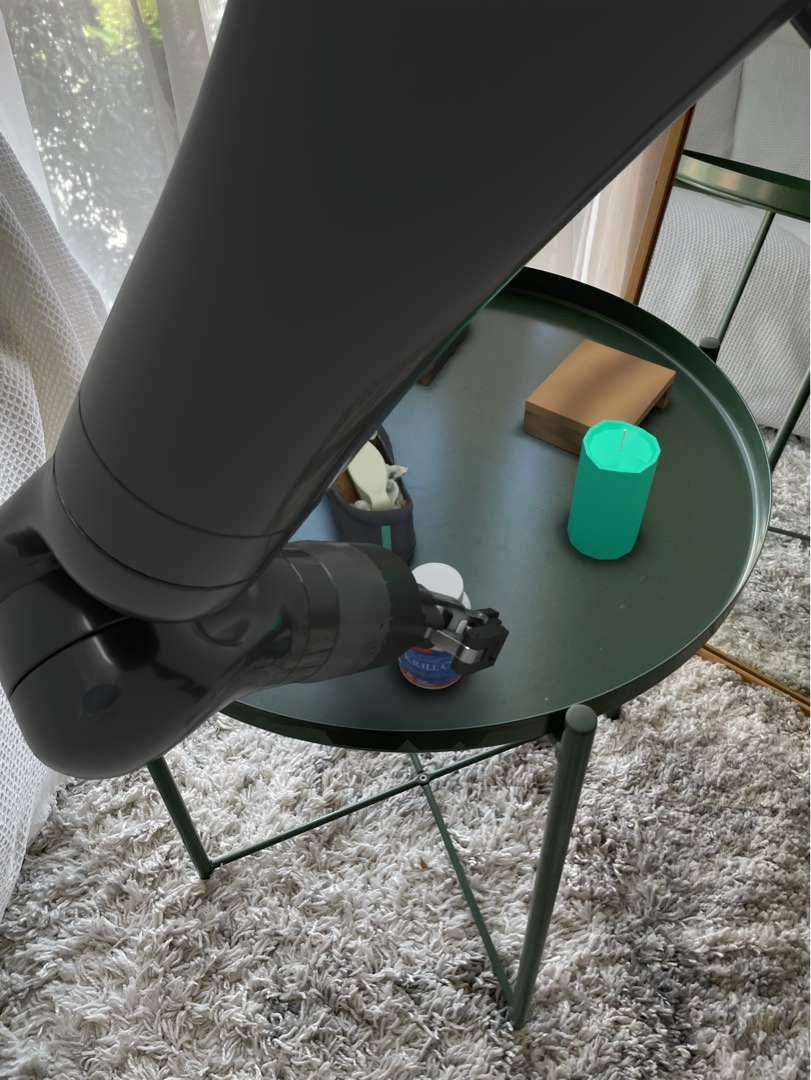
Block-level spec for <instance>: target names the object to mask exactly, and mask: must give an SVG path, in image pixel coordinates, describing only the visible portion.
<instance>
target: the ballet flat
mask: <svg viewBox="0 0 811 1080" xmlns="http://www.w3.org/2000/svg"><path fill="white" fill-rule="evenodd" d="M408 469H409V468H408V466H406V467H405V466H401V465H397V464H395V456H394V452H393V446H392V442H391V439H390V437H389V434H388V433H387V431H386V429H385V427H384V426H383V423H382V424H381V426H380V427H379V428H378V429H377V430H376V432H375V433H374V434H373V435H372V437H371V438H370V439H369V440H368V442H367V443H366V444H365V445H364V447H363V448H362V449H361V451H360V452H359V453H358V454H357V456H356V457H355V458H354V459H353V461H352V462H351V463H350V465H349V466H348V467H347V468H346V470H345V471H344V472H343V473H342V475H341V476H340V477H339V479H338V480H337V481H336V482H335V484H334V485H333V486H332V488H331V489H330V490H329V491H328V493H327V494H326V495H325V497H326V498H327V501H328V503H329V506H330V511H331V514H332V519H333V524H334V526H335V530H336V533H337V537H338V541H339V542H356V543H371V544H376V545H380V546H382V547H385V548H387V549H389V550H391V551H392V552H394V553H395V554H396V555H398V556H399V557H400V558H401V559H402V560H403V561H405V562H408V561H409V560H410V558H411V557H412V556H413V553H414V551H415V549H416V546H417V539H416V532H415V528H414V527H415V526H414V517H413V516H414V515H413V511H414V503H413V500H412V497H411V496H410V493H409V491H408V489H407V486H406V485H405V483H404V480H403V478H402V477H403V476H405V475H406V474H407V472H408Z"/></svg>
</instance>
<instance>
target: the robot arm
mask: <svg viewBox="0 0 811 1080" xmlns="http://www.w3.org/2000/svg"><path fill="white" fill-rule="evenodd" d="M222 13H223V14H222V17H221V21H220V24H219V27H218V31H217V34H216V37H215V41H214V44H213V47H212V50H211V54H210V56H209V60H208V62H207V66H206V70H205V73H204V76H203V79H202V82H201V86H200V89H199V91H198V95H197V99H196V102H195V104H194V106H193V110H192V112H191V116H190V117H189V121H188V124H187V127H186V128H185V131H184V135H183V137H182V139H181V142H180V145H179V148H178V150H177V154H176V156H175V159H174V161H173V164H172V166H171V168H170V170H169V173H168V175H167V178H166V180H165V183H164V185H163V188H162V191H161V193H160V195H159V198H158V201H157V203H156V205H155V208H154V210H153V212H152V215H151V217H150V219H149V221H148V224H147V225H146V228H145V231H144V233H143V235H142V237H141V241H140V242H139V244H138V247H137V249H136V252H135V254H134V256H133V259H132V260H131V262H130V265H129V267H128V270H127V272H126V273H125V276H124V279H123V281H122V283H121V286H120V287H119V290H118V292H117V295H116V297H115V299H114V302H113V304H112V307H111V309H110V311H109V313H108V315H107V319H106V321H105V323H104V325H103V328H102V329H101V333H100V335H99V337H98V339H97V342H96V344H95V347H94V349H93V351H92V354H91V356H90V359H89V361H88V363H87V366H86V369H85V370H84V374H83V375H82V378H81V381H80V383H79V385H78V389H77V391H76V393H75V396H74V399H73V401H72V404H71V406H70V409H69V411H68V413H67V416H66V419H65V421H64V423H63V426H62V428H61V432H60V434H59V436H58V439H57V443H56V446H55V449H54V452H53V453H52V455H51V456H50V457H48V459H47V460H46V461H44V463H43V464H42V465H40V467H39V468H38V469H37V470H36V471H34V472H33V473H32V474H31V475H30V476H29V477H28V478H27V479H26V480H25V481H24V482H23V483H22V484H21V485H20V486H19V487H18V488H17V489H16V490H15V491H14V493H13V494H11V496H10V497H8V499H6V500H5V501H4V502H3V503H2V504H1V505H0V685H1V687H2V690H3V692H4V694H5V696H6V699H7V701H8V703H9V706H10V709H11V711H12V714H13V716H14V718H15V721H16V723H17V726H18V728H19V730H20V732H21V734H22V737H23V739H24V741H25V743H26V745H27V747H28V748H29V749H30V751H31V752H32V754H33V755H34V757H35V758H37V760H38V761H39V762H41V763H42V765H44V766H45V767H47V768H49V769H50V770H52V771H54V772H56V773H59V774H61V775H64V776H67V777H71V778H75V779H80V780H87V781H89V780H90V781H102V780H104V781H105V780H110V779H114V778H115V779H116V778H119V777H123V776H126V775H129V774H132V773H134V772H136V771H138V770H141V769H143V768H146V767H147V766H149V765H150V764H152V763H154V762H155V761H157V760H159V759H160V758H161V757H163V756H165V755H166V754H168V753H169V752H171V751H172V750H173V749H174V748H176V747H177V746H178V745H180V744H181V743H182V742H184V741H185V740H186V739H187V738H189V737H190V736H191V735H193V733H195V732H196V731H197V730H198V729H199V728H200V727H202V726H203V725H204V724H205V723H206V722H208V720H210V719H211V718H213V716H215V715H216V714H217V713H219V712H220V711H221V710H222V709H224V708H226V707H227V706H228V705H230V704H232V703H234V702H236V701H238V700H240V699H242V698H244V697H246V696H249V695H251V694H254V693H258V692H263V691H265V690H270V689H273V688H279V687H282V686H287V685H292V684H305V685H306V684H316V683H323V682H327V681H332V680H334V679H339V678H343V677H348V676H352V675H355V674H359V673H363V672H369V671H371V670H376V669H380V668H383V667H385V666H388V665H390V664H392V663H393V662H395V661H396V660H398V658H399V657H400V656H402V655H403V654H404V653H405V652H407V651H408V650H409V649H411V648H412V647H416V648H422V649H431V650H435V651H440V652H444V651H446V652H448V653H450V654H452V657H451V659H450V660H451V664H450V668H451V669H452V670H453V671H454V672H455V673H457V674H460V675H462V676H470V675H472V674H474V673H477V672H480V671H483V670H486V669H488V668H491V667H494V666H495V664H496V662H497V661H498V657H499V656H500V654H501V651H502V649H503V647H504V645H505V642H506V641H507V638H508V636H509V634H510V630H508V628H506V626H504V625H502V624H503V620H501V619H500V618H499V617H500V612H499V611H497V610H496V609H494V608H492V607H487V608H479V609H472V608H471V609H467V608H466V607H465V606H464V605H463V604H462V603H460V602H459V601H458V600H457V599H456V598H454V597H451V596H448V595H444V594H441V593H437V592H434V591H430V590H428V589H427V588H426V587H424V586H423V585H422V584H419V583H417V582H416V579H415V577H414V575H413V573H412V570H411V568H410V567H411V565H410V563H408V561H406V562H405V561H403V560H402V559H401V558H400V557H399V556H398V555H396V554H395V553H394V552H392V551H391V550H389V549H387V548H385V547H382V546H380V545H376V544H371V543H356V542H340V541H334V540H315V539H314V540H312V539H305V540H303V539H302V540H301V539H300V540H295V541H290V540H291V539H292V538H293V536H294V535H295V534H296V533H297V532H298V530H299V529H300V528H301V527H302V525H303V524H304V523H305V522H306V520H307V519H308V518H309V517H310V515H311V514H312V513H313V512H314V511H315V509H316V508H317V507H318V506H319V505H320V503H321V502H322V501H323V499H324V498H325V497H326V494H327V493H328V491H329V490H330V489H331V488H332V486H333V485H334V484H335V482H336V481H337V480H338V479H339V477H340V476H341V475H342V473H343V472H344V471H345V470H346V468H347V467H348V466H349V465H350V463H351V462H352V461H353V459H354V458H355V457H356V456H357V454H358V453H359V452H360V451H361V449H362V448H363V447H364V445H365V444H366V443H367V442H368V440H369V439H370V438H371V437H372V435H373V434H374V433H375V432H376V430H377V429H378V428H379V427H380V426H381V424H382V425H383V424H384V422H385V421H386V419H388V417H389V416H390V415H391V413H392V412H393V411H394V410H395V409H396V407H397V406H398V405H399V404H400V402H401V401H402V400H403V399H404V398H405V396H406V395H407V394H408V393H409V392H410V390H411V389H412V388H413V387H414V386H415V384H416V383H418V382H417V381H418V380H419V378H420V377H421V376H422V375H423V374H424V373H425V371H426V370H427V369H428V368H429V367H430V366H431V365H432V364H433V362H434V361H435V360H436V359H437V358H438V357H439V356H440V355H441V353H442V352H443V351H444V350H445V349H446V348H447V347H448V346H449V345H450V343H451V342H452V341H453V340H454V339H455V338H456V337H457V336H458V335H459V334H460V333H461V331H462V330H463V329H464V328H465V327H466V326H467V325H468V324H469V325H470V323H471V322H472V321H473V320H474V319H475V318H476V317H477V316H478V314H479V313H481V312H482V310H483V309H484V308H485V307H486V306H487V305H488V304H489V303H490V302H491V301H492V300H493V299H494V298H495V297H496V296H497V295H498V294H499V293H500V292H501V291H502V290H503V289H504V288H505V287H506V286H507V285H508V284H509V283H510V282H511V281H512V280H513V279H514V278H515V277H516V276H517V275H518V274H519V273H520V272H521V271H522V270H523V269H524V268H525V267H526V266H527V265H528V264H529V262H531V261H532V259H534V258H535V257H536V256H537V255H538V254H539V253H540V252H541V251H542V250H543V249H544V248H545V247H546V246H547V245H548V244H549V243H550V242H552V240H553V239H554V238H555V237H556V236H557V235H558V234H559V233H560V232H561V231H562V230H564V229H565V227H567V225H569V223H570V222H572V220H573V219H575V217H576V216H578V214H579V213H581V211H583V209H584V208H586V206H588V205H589V204H590V203H591V202H592V201H593V200H594V199H595V198H596V197H597V196H598V195H599V194H600V193H601V192H602V191H603V190H604V189H605V188H607V186H608V185H610V184H611V183H612V182H613V181H614V180H615V179H616V178H617V177H618V176H619V175H620V174H621V173H622V172H623V171H624V170H626V168H628V167H629V166H630V164H632V162H634V161H635V160H636V159H637V158H638V157H639V156H641V154H642V153H644V151H646V150H647V149H648V148H649V147H650V146H651V145H652V144H653V143H654V142H655V141H656V140H657V139H658V138H659V137H660V136H661V135H663V133H664V132H666V131H667V130H668V129H669V128H670V127H671V126H673V124H674V123H675V122H676V121H678V120H679V119H680V118H681V117H682V116H683V115H684V114H685V113H686V112H688V111H689V110H690V109H691V108H692V107H693V106H695V105H696V104H697V103H698V102H699V101H700V100H702V99H703V98H704V97H705V96H706V95H707V94H708V93H709V92H710V91H712V90H713V89H714V88H715V87H716V86H717V85H718V84H720V83H721V82H722V81H723V80H724V79H725V78H727V77H728V76H729V75H730V74H731V73H732V72H733V71H734V70H735V69H737V67H740V65H741V64H742V63H743V62H744V61H746V60H747V59H749V57H750V56H752V54H753V53H755V52H756V51H757V50H758V49H760V47H761V46H763V45H764V44H765V43H767V41H769V39H771V38H772V37H773V36H774V35H776V34H777V32H779V31H780V30H781V29H782V28H784V26H786V25H787V24H789V25H790V26H791V27H792V28H793V30H794V31H795V32H796V33H797V35H798V36H799V37H800V38H801V39H802V41H803V42H804V43H805V45H806V46H807V47H808V48H809V50H810V51H811V0H226V3H225V6H224V10H223V12H222ZM436 605H437V606H440V607H444V609H443V612H442V614H441V613H440V611H439V609H438V608H437V606H436ZM463 620H467V624H466V626H465V628H464V630H463V632H462V634H460V633H455V632H456V630H457V628H458V626H459V624H460V622H461V621H463Z"/></svg>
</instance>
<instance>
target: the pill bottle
mask: <svg viewBox="0 0 811 1080" xmlns="http://www.w3.org/2000/svg"><path fill="white" fill-rule="evenodd" d="M411 572H412V573H413V575H414V577H415V579H416V582H417V583H419V584H422V585H423V586H424V587H426V588H427V589H428V590H430V591H434V592H437V593H441V594H444V595H448V596H451V597H454V598H456V599H457V600H458V601H459V602H460V603H462V604H463V605H464V606H465V607H466V608H467V609H471V610H472V605H471V601H470V599H469V596H468V594H467V593H466V592H465V591H464V587H465V586H464V580H463V577H462V576H461V574H460V572H459V571H458V570H457V569H456V568H454V567H453V566H451V565H448V564H446V563H442V562H428V563H423V564H420V565H419V566H417V567H415V568H414V569H413V570H411ZM436 606H437V605H436ZM437 608H438V609H439V611H440V613H441V614H442V612H443V609H444V607H440V606H437ZM466 624H467V620H463V621H461V622H460V624H459V626H458V628H457V630H456V632H455V633H460V634H462V632H463V630H464V628H465V626H466ZM451 657H452V654H450V653H448V652H446V651H444V652H440V651H435V650H431V649H422V648H416V647H412V648H411V649H409V650H408V651H407V652H405V653H404V654H403V655H402V656H400V657H399V658H398V659H397V661H398V665H399V668H400V671H401V673H402V674H403V676H404V677H405V678H406V680H408V681H409V682H410V683H412V684H413V685H415V686H417V687H420V688H422V689H423V688H424V689H428V690H440V689H444V688H447V687H449V686H451V685H453V684H455V683H456V682H457V681H458V680H460V679H461V677H462V676H463V675H460V674H457V673H455V672H454V671H453V670H452V669H451V668H450V664H451V660H450V659H451Z"/></svg>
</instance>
